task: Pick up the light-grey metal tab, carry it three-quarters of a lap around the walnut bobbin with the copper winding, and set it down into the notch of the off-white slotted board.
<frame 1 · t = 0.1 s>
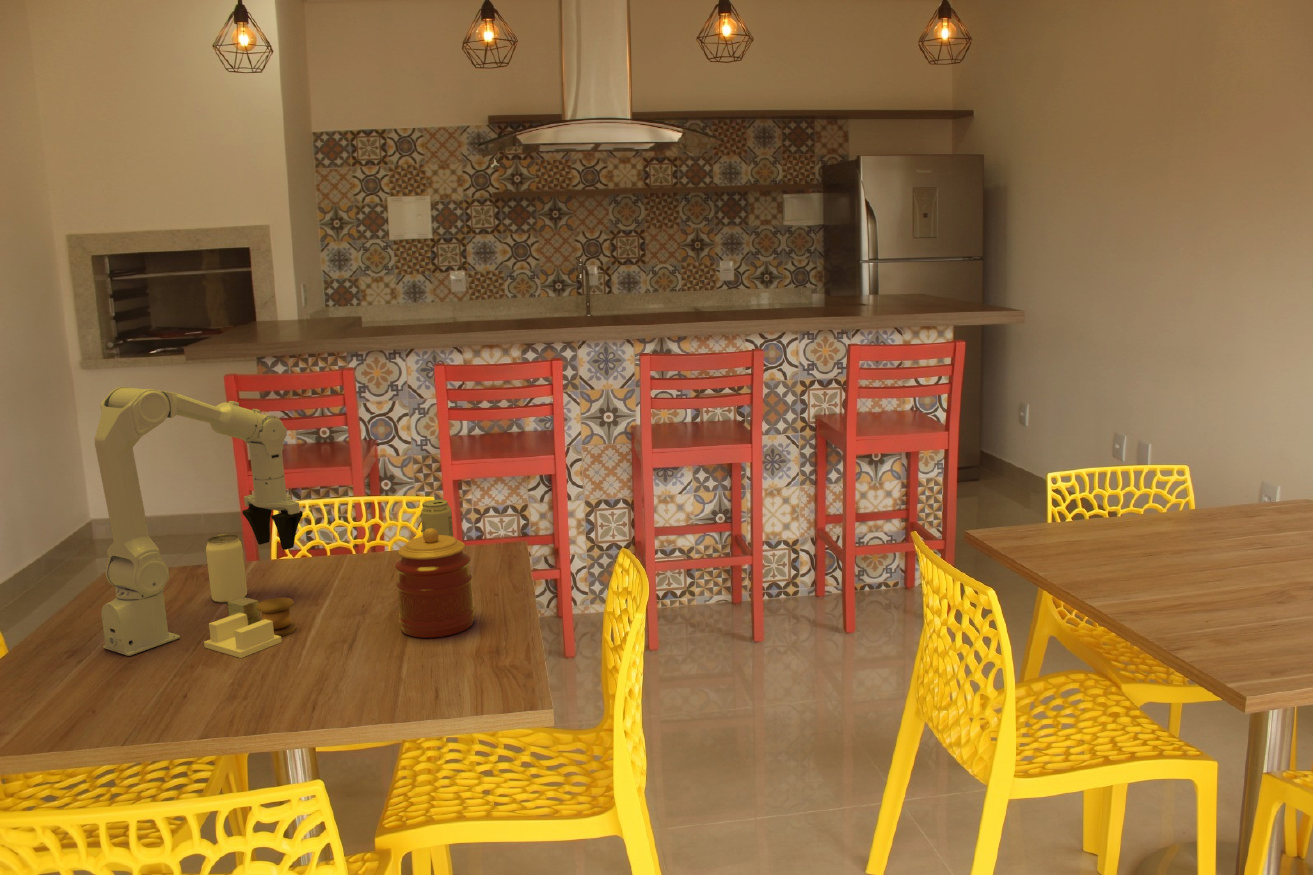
hand: (275, 545, 203), 10 cm above the table, tool pointing down, fingers open, 7 cm apart
energy drink can: (441, 575, 214), on the table
tab: (245, 628, 188), on the table
can: (230, 598, 205), on the table
notch board: (243, 644, 179), on the table
canister: (437, 627, 185), on the table
bobbin: (277, 631, 185), on the table
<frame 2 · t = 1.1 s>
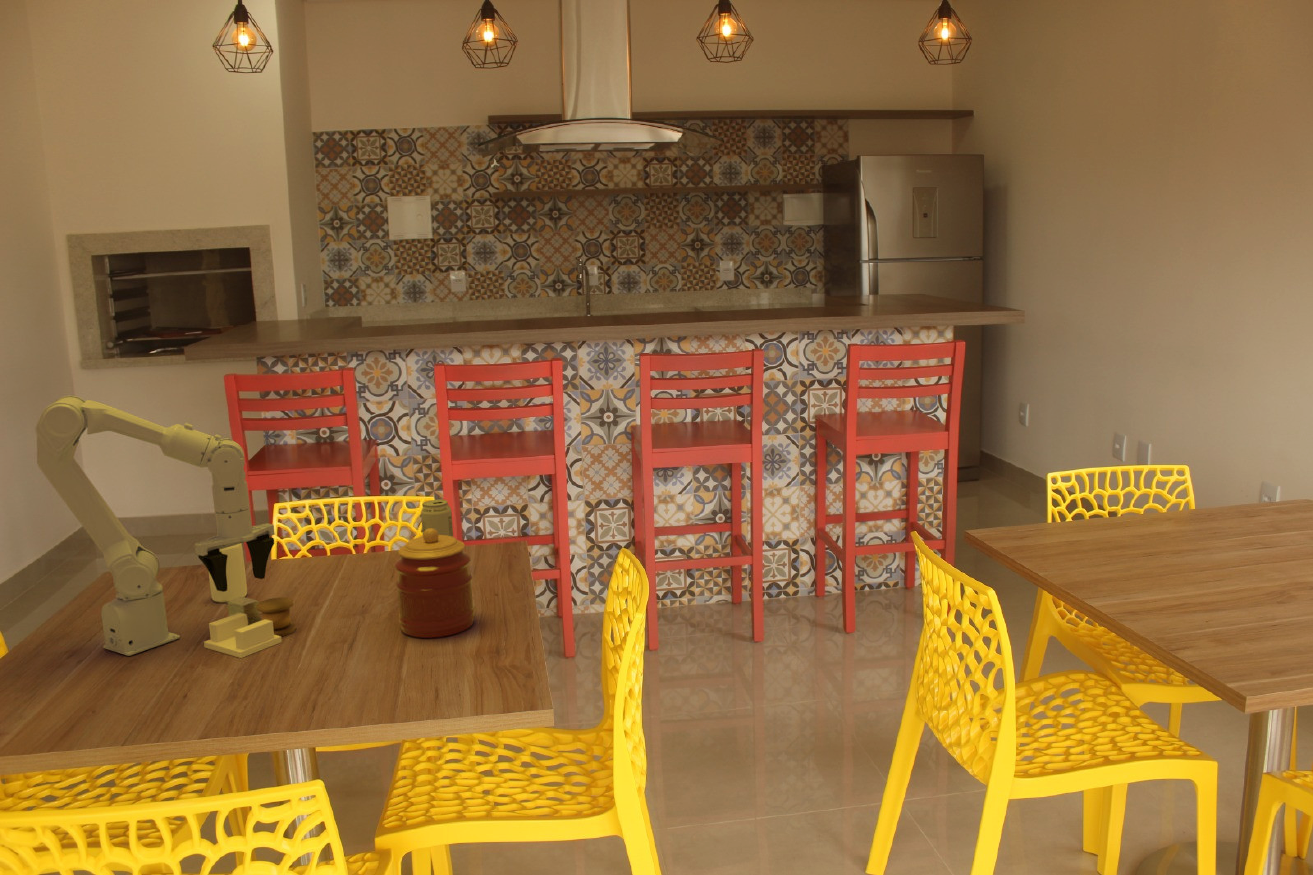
hand: (241, 584, 186), 8 cm above the table, tool pointing down, fingers open, 7 cm apart
nothing on the table moved.
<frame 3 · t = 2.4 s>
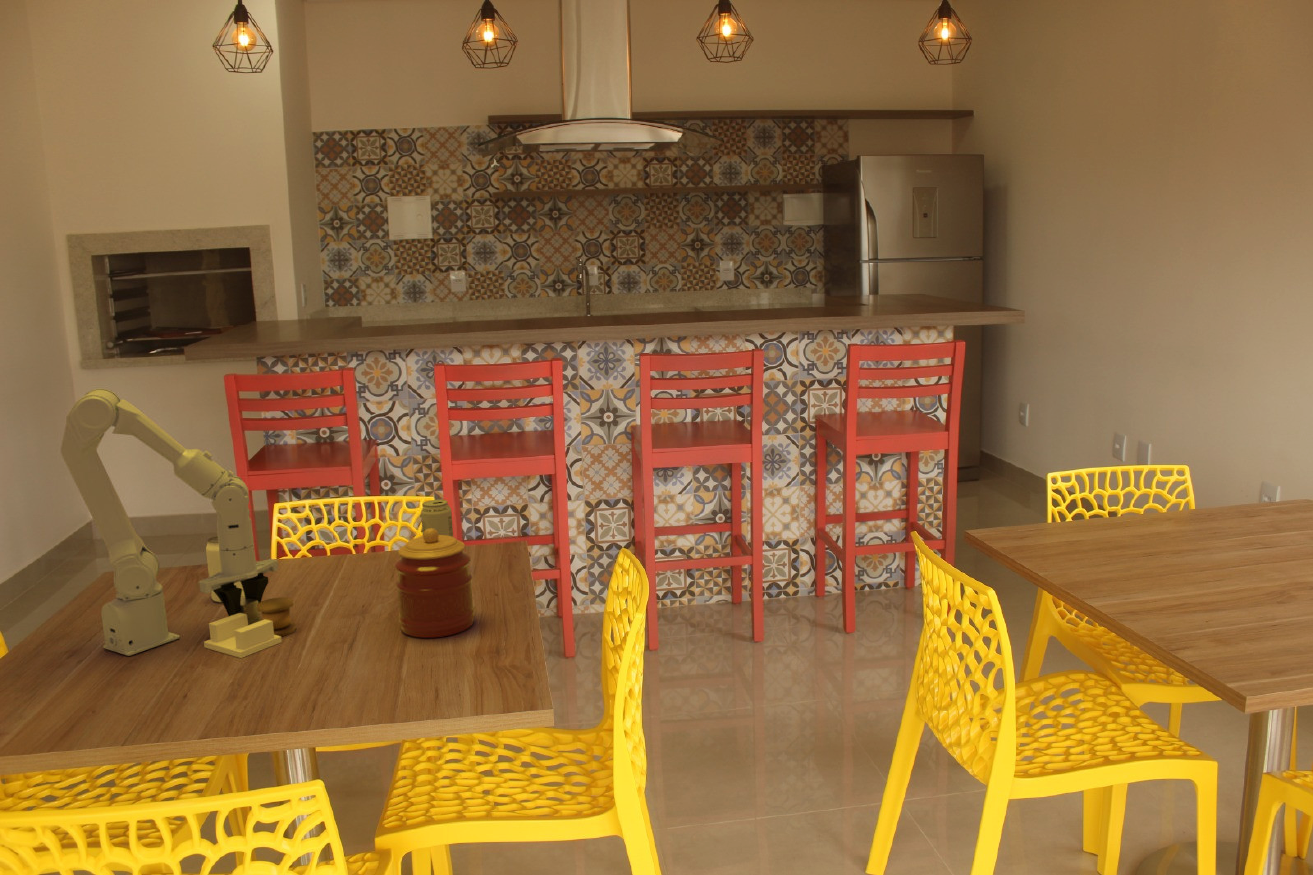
hand: (244, 620, 187), 1 cm above the table, tool pointing down, fingers closed on tab, 3 cm apart
tab: (245, 627, 188), on the table, touching gripper
everything else where it was.
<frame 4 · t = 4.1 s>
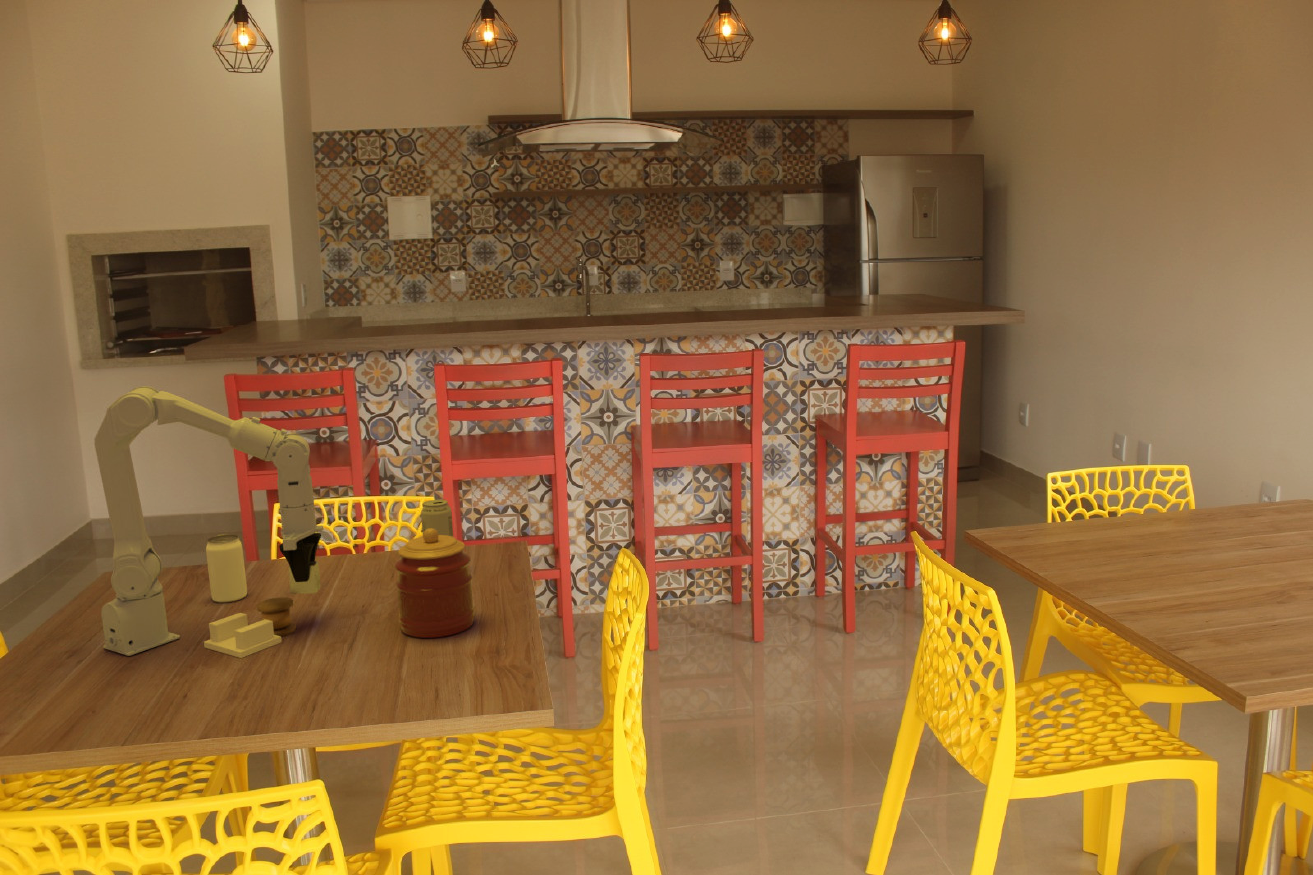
hand: (304, 578, 187), 8 cm above the table, tool pointing down, fingers closed on tab, 3 cm apart
tab: (305, 590, 188), point 6 cm above the table, touching gripper
everything else where it was.
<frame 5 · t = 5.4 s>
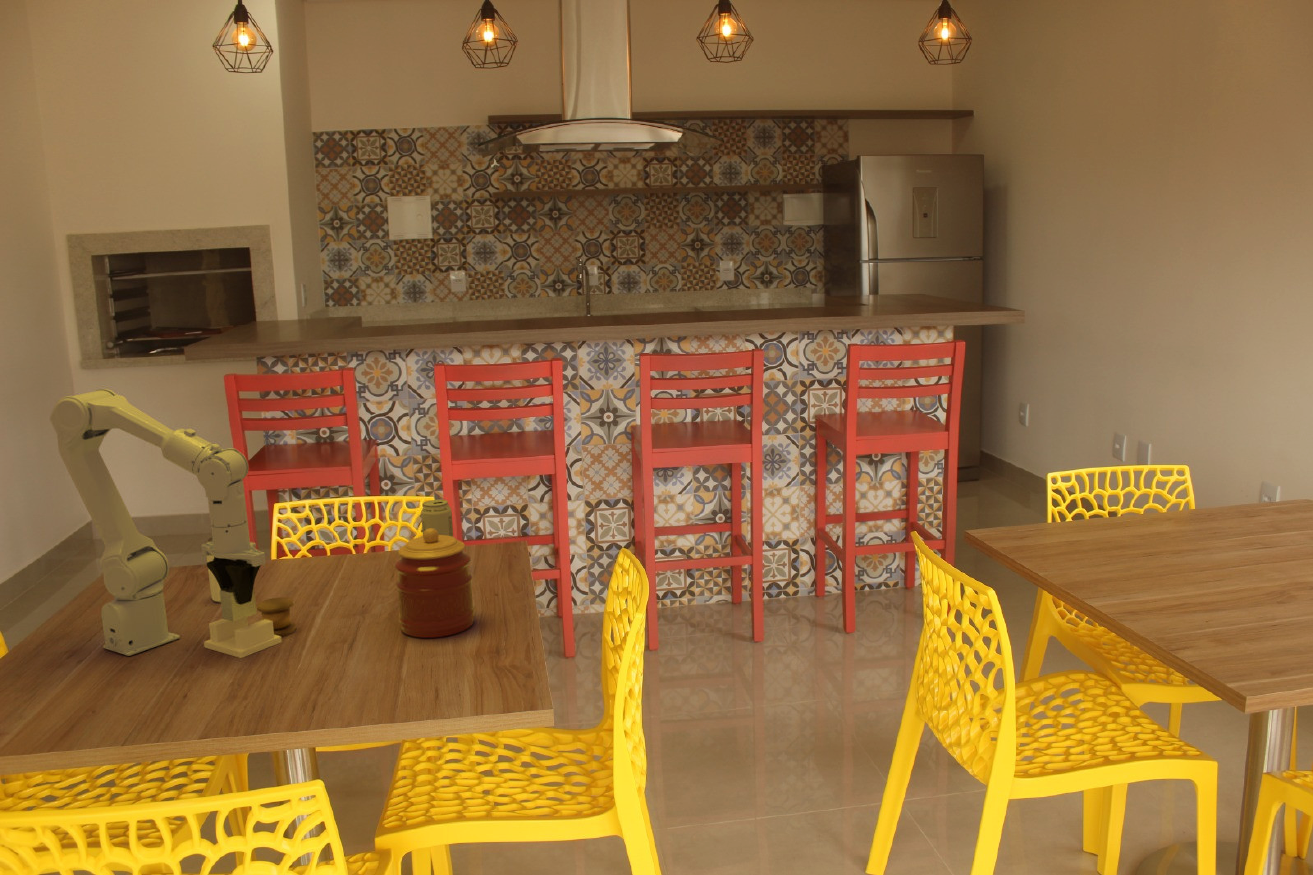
hand: (238, 601, 178), 8 cm above the table, tool pointing down, fingers closed on tab, 3 cm apart
tab: (239, 616, 178), point 5 cm above the table, touching gripper
everything else where it was.
when the fingers open (5 cm above the table, at t = 6.2 s): tab drops 1 cm, resting on notch board.
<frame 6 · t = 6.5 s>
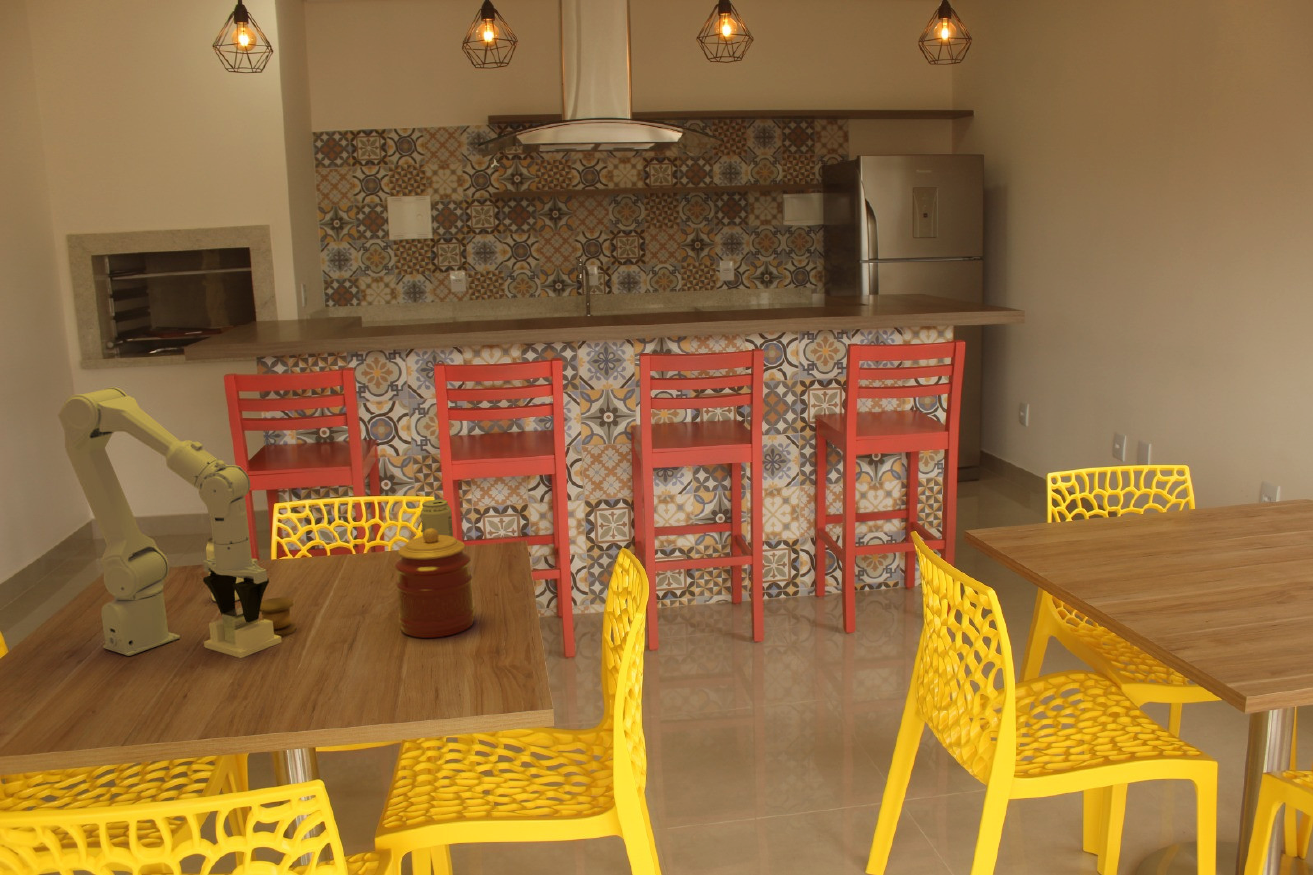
hand: (240, 617, 178), 5 cm above the table, tool pointing down, fingers open, 6 cm apart
tab: (242, 639, 179), point 1 cm above the table, touching notch board
everything else where it was.
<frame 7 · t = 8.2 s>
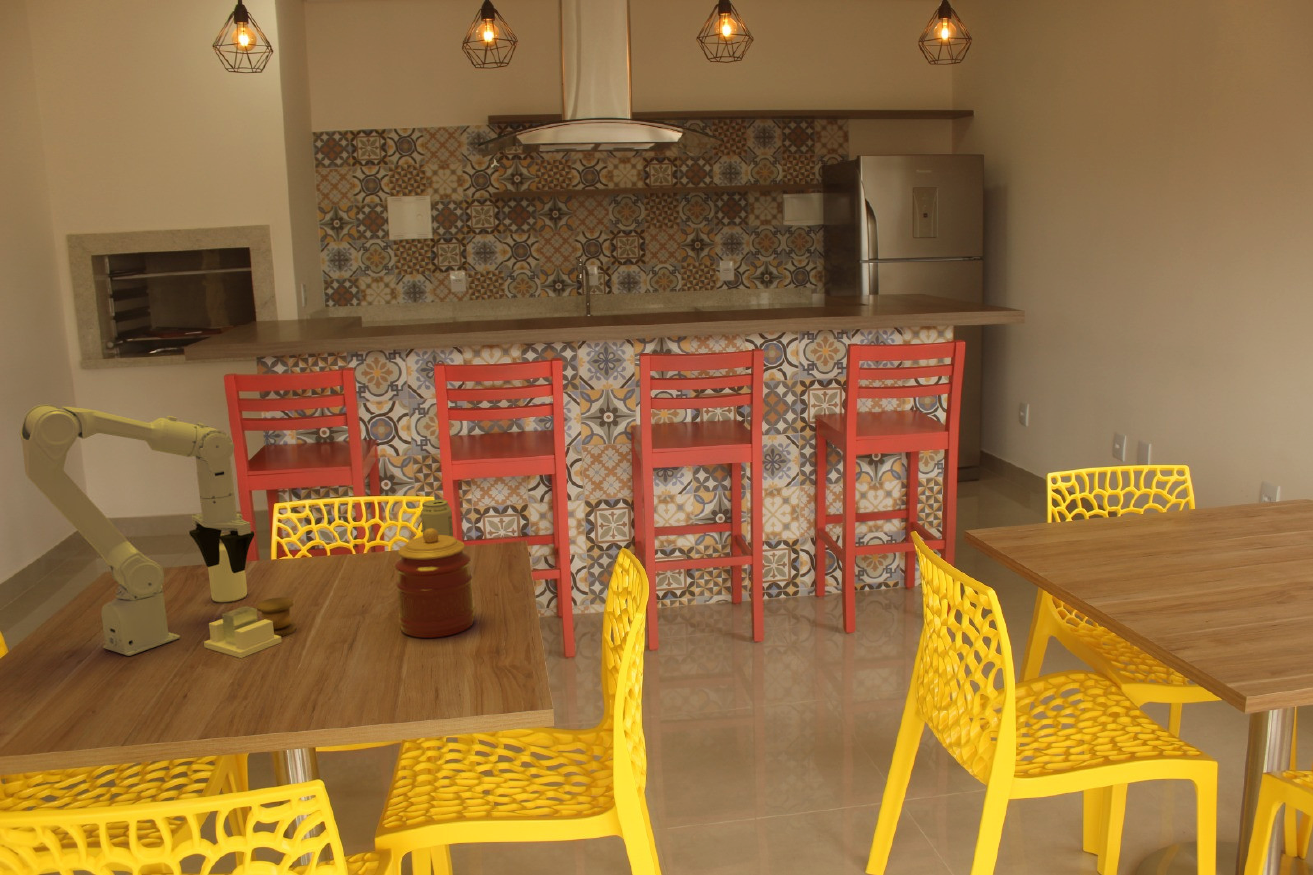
hand: (225, 568, 190), 10 cm above the table, tool pointing down, fingers open, 7 cm apart
nothing on the table moved.
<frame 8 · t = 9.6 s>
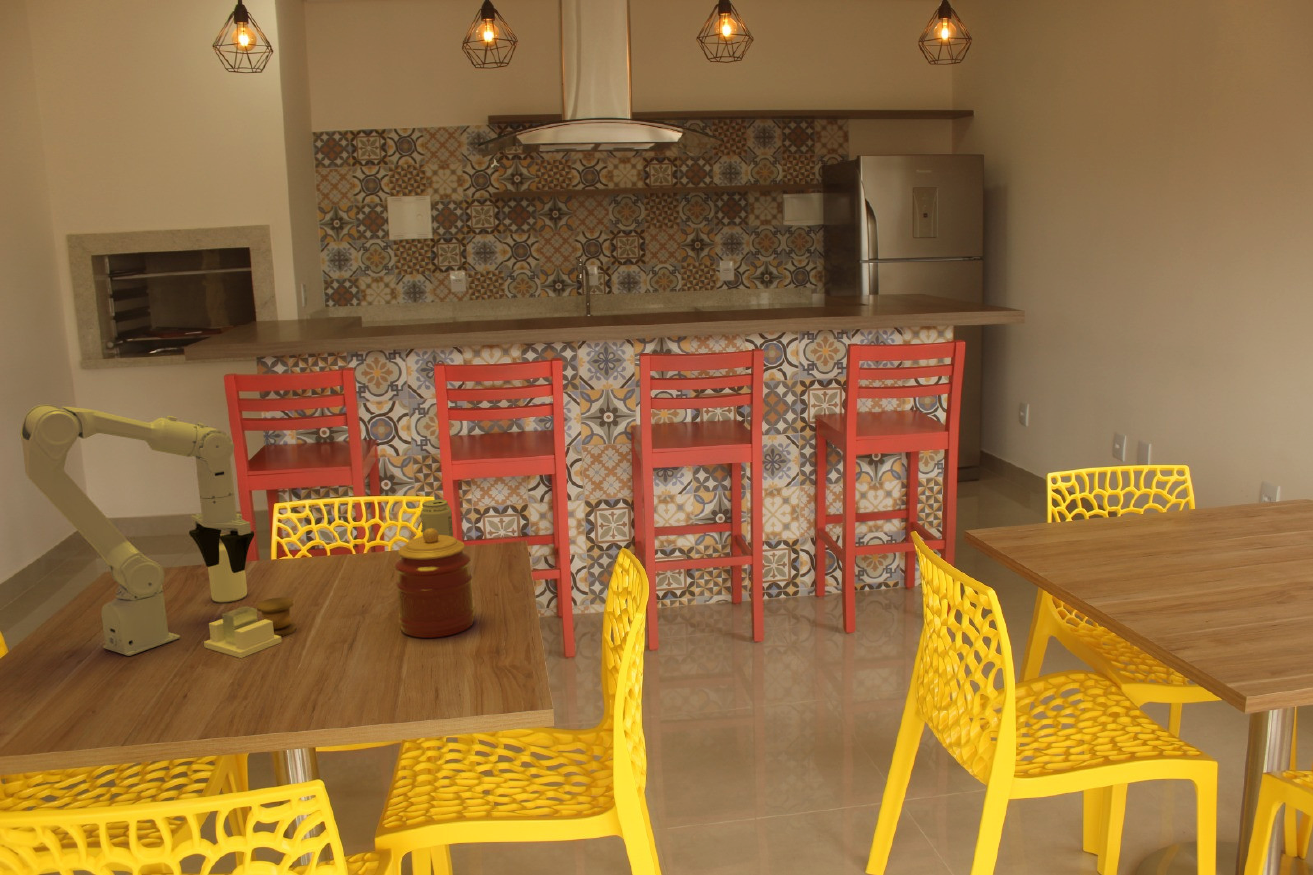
hand: (225, 568, 190), 10 cm above the table, tool pointing down, fingers open, 7 cm apart
nothing on the table moved.
at the end: tab 0.1 cm off-centre on the notch board, point 1.0 cm above the notch board's base; the gripper is holding nothing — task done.
